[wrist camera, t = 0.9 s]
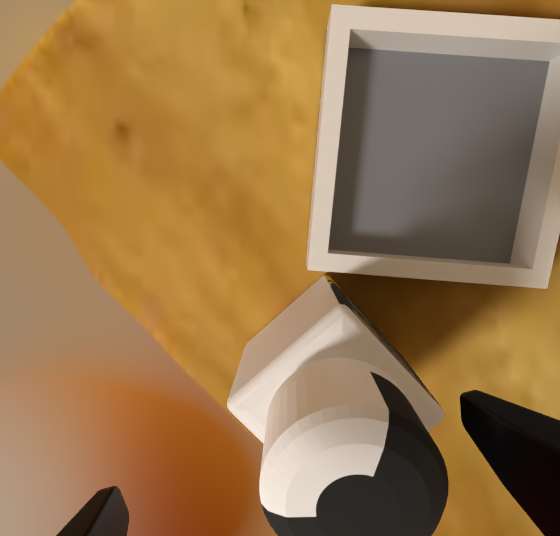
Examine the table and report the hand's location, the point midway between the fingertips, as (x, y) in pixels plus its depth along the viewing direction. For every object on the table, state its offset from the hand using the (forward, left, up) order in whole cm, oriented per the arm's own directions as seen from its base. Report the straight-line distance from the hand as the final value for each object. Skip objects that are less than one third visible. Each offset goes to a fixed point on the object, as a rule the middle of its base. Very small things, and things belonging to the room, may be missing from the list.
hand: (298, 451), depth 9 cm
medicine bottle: (-2, +3, -13) cm, 14 cm away
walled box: (-7, -9, -13) cm, 18 cm away
